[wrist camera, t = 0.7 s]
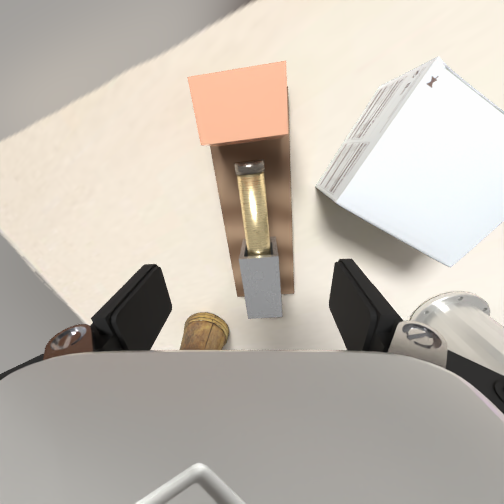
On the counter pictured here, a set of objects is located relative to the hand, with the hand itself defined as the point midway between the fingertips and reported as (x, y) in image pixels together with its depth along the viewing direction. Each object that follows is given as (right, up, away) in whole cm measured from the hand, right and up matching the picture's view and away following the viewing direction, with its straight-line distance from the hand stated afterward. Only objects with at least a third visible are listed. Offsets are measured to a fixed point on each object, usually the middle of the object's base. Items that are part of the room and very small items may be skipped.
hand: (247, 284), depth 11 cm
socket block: (0, +18, +14) cm, 22 cm away
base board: (+1, +8, +20) cm, 22 cm away
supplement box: (+20, +13, +17) cm, 29 cm away
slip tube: (+1, +4, +18) cm, 18 cm away
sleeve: (+2, -1, +23) cm, 23 cm away
